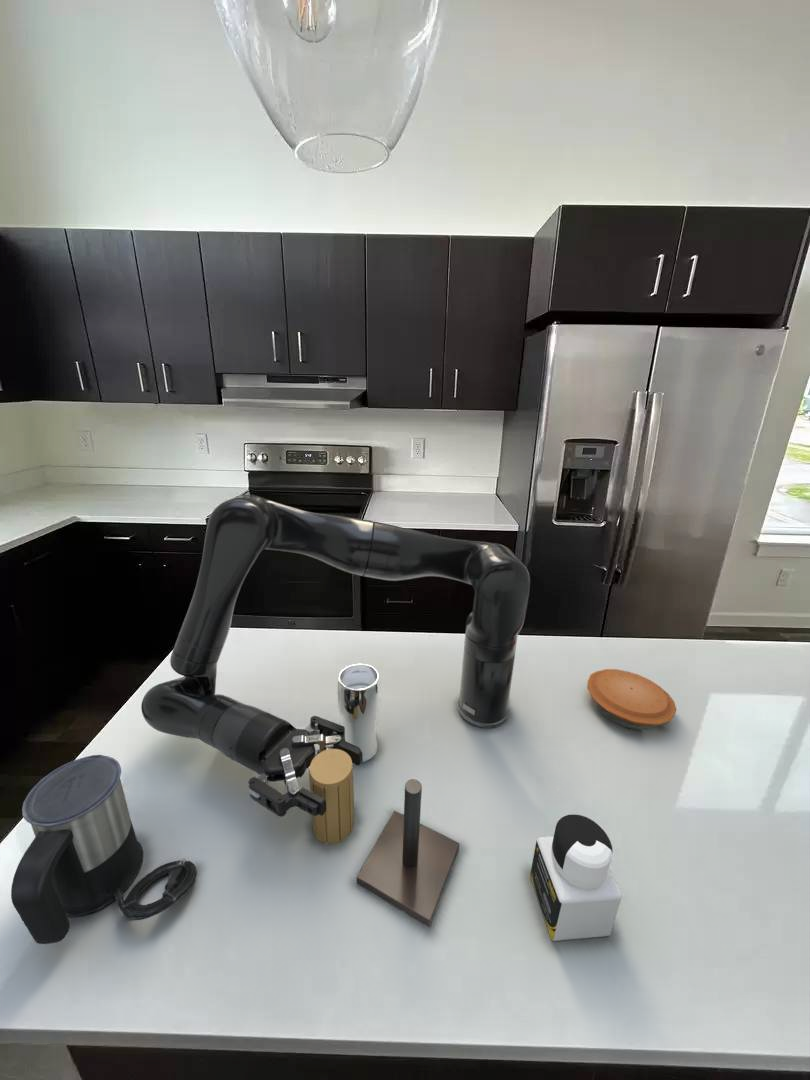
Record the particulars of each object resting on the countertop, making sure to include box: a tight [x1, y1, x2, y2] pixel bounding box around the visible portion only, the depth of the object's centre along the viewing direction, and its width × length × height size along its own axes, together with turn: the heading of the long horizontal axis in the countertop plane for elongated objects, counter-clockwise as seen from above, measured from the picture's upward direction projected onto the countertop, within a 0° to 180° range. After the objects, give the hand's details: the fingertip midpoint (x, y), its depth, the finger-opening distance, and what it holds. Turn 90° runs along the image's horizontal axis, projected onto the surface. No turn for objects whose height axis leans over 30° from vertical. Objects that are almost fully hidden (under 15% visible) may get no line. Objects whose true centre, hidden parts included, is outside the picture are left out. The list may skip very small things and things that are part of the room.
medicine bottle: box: [529, 813, 623, 942], centre depth 50 cm, size 7×7×12 cm
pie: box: [586, 668, 677, 731], centre depth 83 cm, size 16×16×5 cm
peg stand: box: [356, 778, 460, 928], centre depth 53 cm, size 10×10×14 cm
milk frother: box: [10, 754, 198, 945], centre depth 50 cm, size 14×16×15 cm
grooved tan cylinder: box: [308, 749, 355, 845], centre depth 59 cm, size 6×6×11 cm
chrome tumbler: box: [336, 663, 381, 763], centre depth 70 cm, size 7×7×15 cm
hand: (344, 782), depth 57 cm, fingers open, 8 cm apart
